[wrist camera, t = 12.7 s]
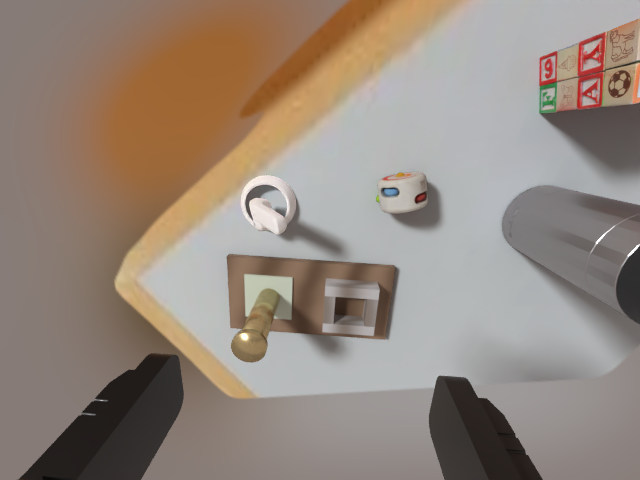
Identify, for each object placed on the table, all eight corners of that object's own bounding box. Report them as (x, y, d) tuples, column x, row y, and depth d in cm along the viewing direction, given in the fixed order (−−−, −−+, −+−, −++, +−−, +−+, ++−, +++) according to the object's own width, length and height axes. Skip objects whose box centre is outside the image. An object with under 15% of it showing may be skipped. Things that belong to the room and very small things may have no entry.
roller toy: (371, 174, 39) (377, 180, 34) (420, 165, 38) (435, 169, 33) (376, 207, 40) (383, 218, 35) (423, 198, 40) (438, 208, 34)
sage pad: (292, 277, 43) (292, 278, 43) (291, 318, 45) (291, 319, 45) (244, 273, 43) (244, 274, 43) (246, 315, 46) (245, 316, 45)
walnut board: (394, 265, 43) (399, 276, 40) (383, 335, 47) (387, 350, 43) (229, 254, 43) (220, 263, 40) (232, 324, 47) (225, 338, 44)
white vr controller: (334, 235, 36) (287, 264, 34) (287, 213, 46) (247, 234, 43) (319, 178, 33) (264, 205, 30) (271, 167, 42) (226, 186, 39)
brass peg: (282, 286, 43) (265, 334, 33) (282, 310, 45) (266, 363, 34) (255, 285, 43) (230, 331, 33) (255, 308, 45) (231, 360, 34)
